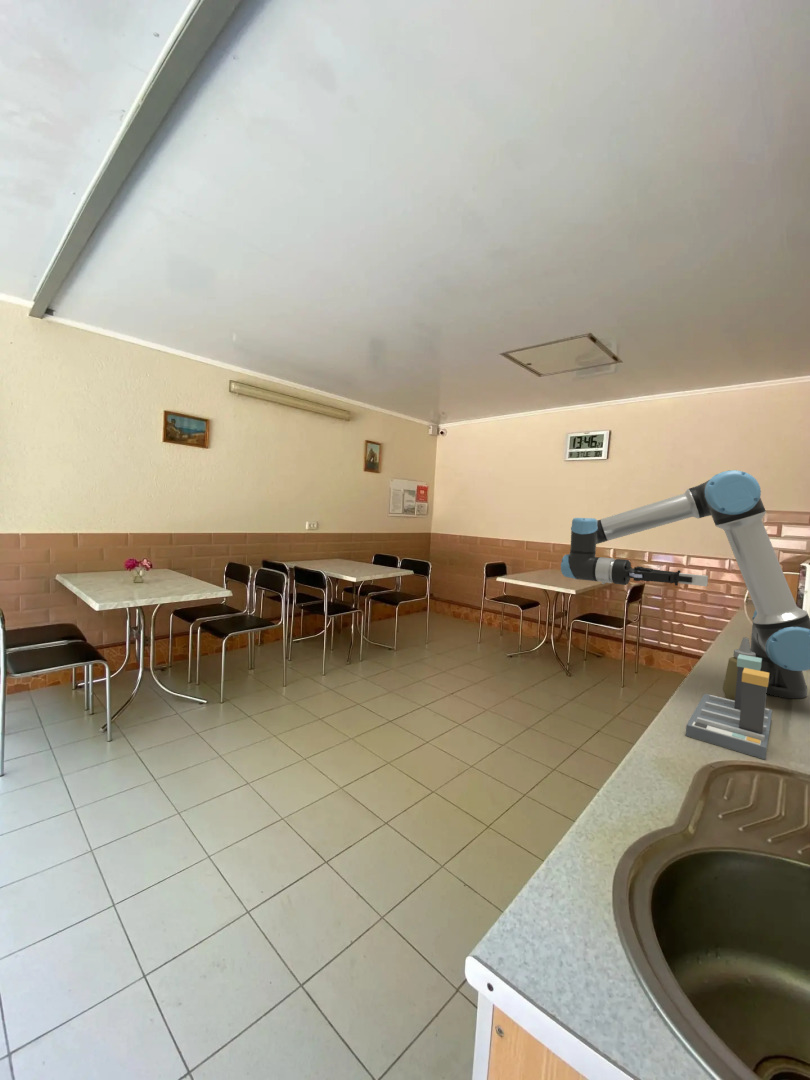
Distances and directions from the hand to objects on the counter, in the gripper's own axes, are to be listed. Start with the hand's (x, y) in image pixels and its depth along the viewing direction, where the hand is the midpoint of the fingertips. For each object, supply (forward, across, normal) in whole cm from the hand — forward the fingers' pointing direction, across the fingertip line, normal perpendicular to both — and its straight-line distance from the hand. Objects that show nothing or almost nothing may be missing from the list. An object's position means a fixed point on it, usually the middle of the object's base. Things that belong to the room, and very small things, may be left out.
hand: (707, 581), depth 122 cm
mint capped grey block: (+11, +9, -30) cm, 33 cm away
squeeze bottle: (+9, -2, -32) cm, 34 cm away
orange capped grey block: (+13, +21, -30) cm, 39 cm away
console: (+9, +15, -32) cm, 36 cm away
